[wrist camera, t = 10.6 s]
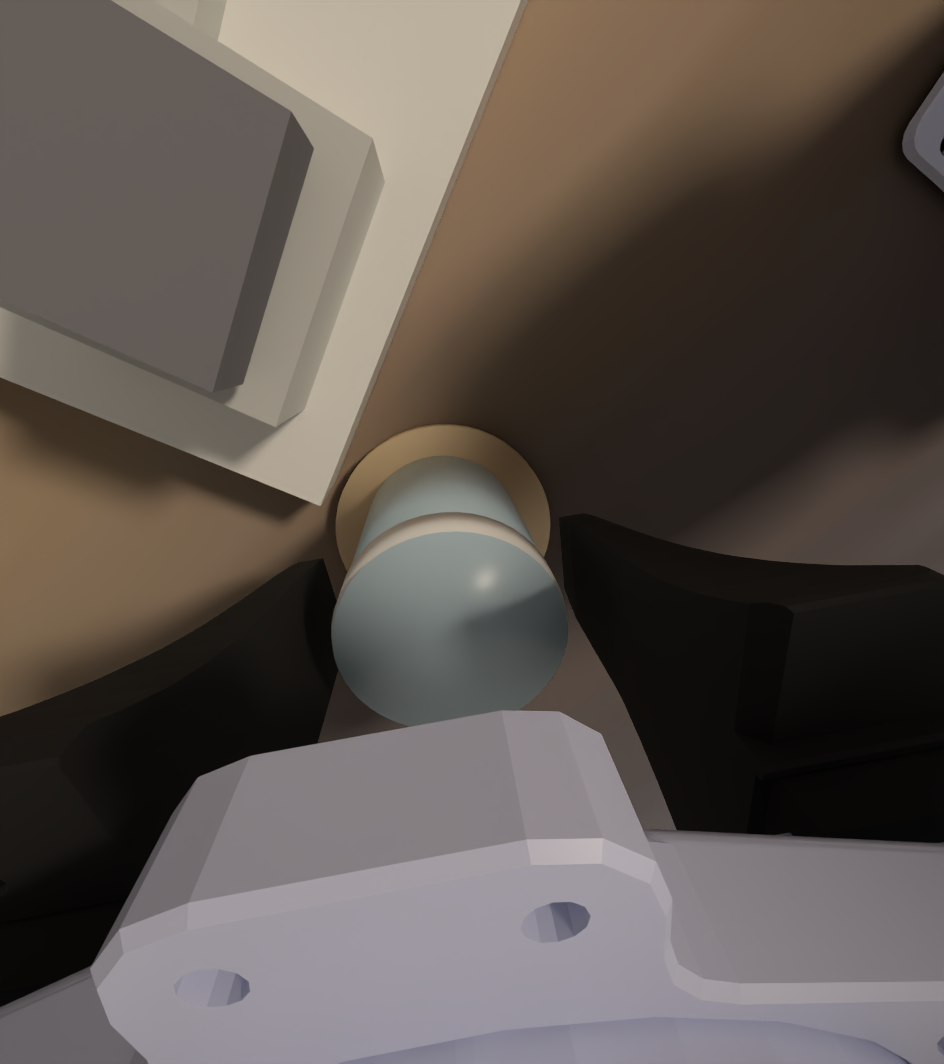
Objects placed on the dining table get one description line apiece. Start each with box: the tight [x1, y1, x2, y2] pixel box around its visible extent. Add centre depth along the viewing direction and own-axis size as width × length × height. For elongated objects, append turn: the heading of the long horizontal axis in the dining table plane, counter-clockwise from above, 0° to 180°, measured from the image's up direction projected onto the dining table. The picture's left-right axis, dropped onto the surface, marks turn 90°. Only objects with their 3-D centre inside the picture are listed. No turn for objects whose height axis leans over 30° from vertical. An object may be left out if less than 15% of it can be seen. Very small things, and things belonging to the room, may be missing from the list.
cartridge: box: [331, 456, 568, 727], centre depth 11 cm, size 4×4×6 cm
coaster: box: [336, 424, 550, 572], centre depth 14 cm, size 6×6×1 cm
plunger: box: [0, 0, 314, 393], centre depth 7 cm, size 4×4×3 cm
